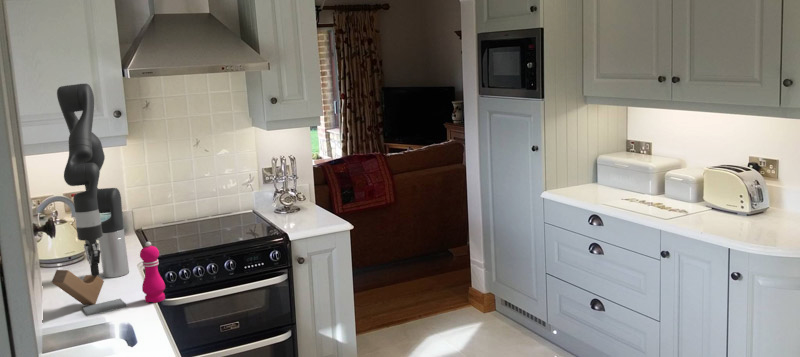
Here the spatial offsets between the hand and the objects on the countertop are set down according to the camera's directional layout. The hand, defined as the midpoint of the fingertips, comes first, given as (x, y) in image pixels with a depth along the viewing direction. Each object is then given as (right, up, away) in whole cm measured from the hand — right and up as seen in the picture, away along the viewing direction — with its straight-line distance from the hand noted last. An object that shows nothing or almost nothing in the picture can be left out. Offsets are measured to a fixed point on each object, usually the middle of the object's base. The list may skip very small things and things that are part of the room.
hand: (95, 275), depth 236 cm
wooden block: (-1, -6, +3) cm, 7 cm away
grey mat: (+4, -10, -3) cm, 11 cm away
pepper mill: (+19, -9, +1) cm, 21 cm away
